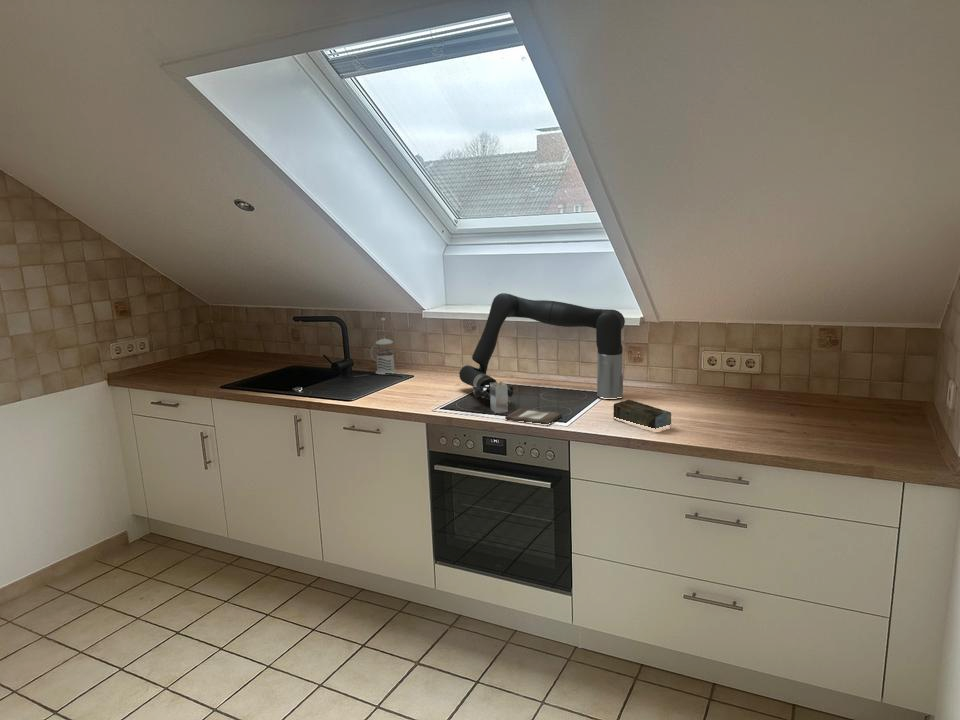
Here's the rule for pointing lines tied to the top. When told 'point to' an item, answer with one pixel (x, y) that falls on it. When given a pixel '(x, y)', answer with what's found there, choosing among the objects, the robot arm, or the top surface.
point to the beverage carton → (642, 414)
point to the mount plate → (533, 416)
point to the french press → (385, 367)
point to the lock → (499, 397)
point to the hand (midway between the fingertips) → (499, 395)
